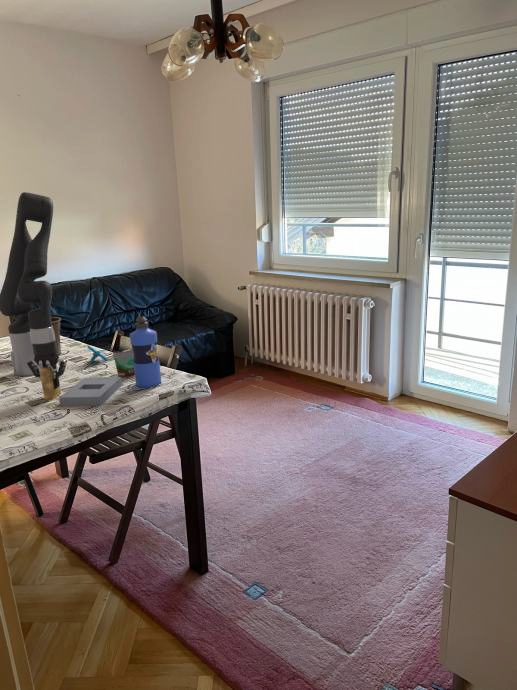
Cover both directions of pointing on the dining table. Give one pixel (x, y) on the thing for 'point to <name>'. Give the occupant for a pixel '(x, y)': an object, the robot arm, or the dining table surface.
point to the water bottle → (145, 355)
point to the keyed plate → (90, 391)
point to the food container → (124, 363)
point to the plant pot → (57, 332)
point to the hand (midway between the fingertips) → (51, 387)
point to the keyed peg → (48, 384)
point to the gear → (96, 354)
